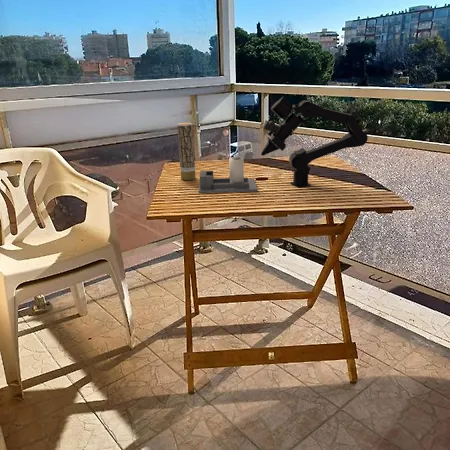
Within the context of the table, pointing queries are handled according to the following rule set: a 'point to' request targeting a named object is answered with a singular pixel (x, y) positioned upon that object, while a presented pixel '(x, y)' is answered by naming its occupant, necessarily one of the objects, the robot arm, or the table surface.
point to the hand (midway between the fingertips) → (261, 154)
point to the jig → (223, 184)
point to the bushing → (236, 169)
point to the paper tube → (186, 150)
